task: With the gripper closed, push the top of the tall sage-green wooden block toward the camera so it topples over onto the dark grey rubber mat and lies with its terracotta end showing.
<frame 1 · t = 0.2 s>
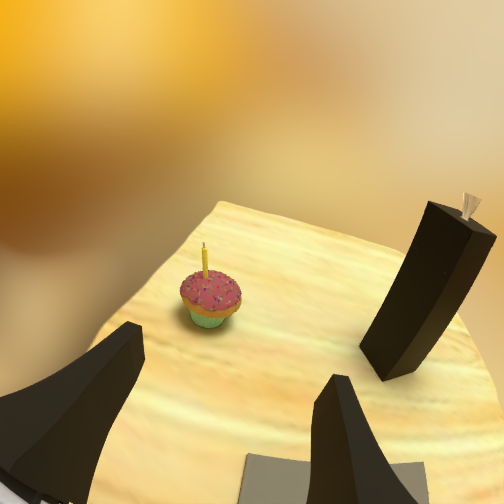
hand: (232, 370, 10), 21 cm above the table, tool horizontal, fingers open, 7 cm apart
black pillar candle: (386, 360, 42), on the table
cupcake: (207, 317, 43), on the table
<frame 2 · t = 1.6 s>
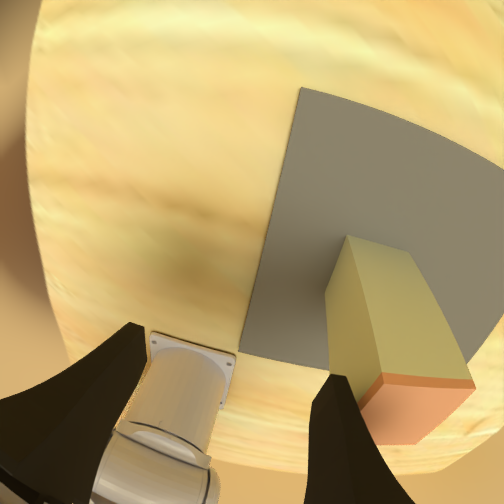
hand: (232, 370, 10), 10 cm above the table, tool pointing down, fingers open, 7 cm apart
rubber mat: (413, 280, 19), on the table
sage block: (366, 273, 19), point 1 cm above the table, touching rubber mat
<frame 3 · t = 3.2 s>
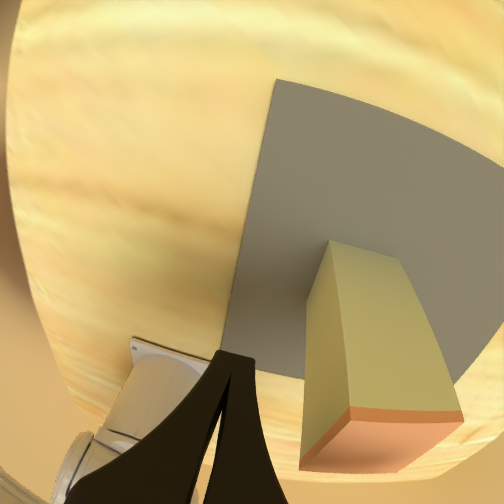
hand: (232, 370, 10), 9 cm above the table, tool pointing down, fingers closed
rubber mat: (404, 289, 18), on the table
sage block: (352, 281, 17), point 1 cm above the table, touching rubber mat
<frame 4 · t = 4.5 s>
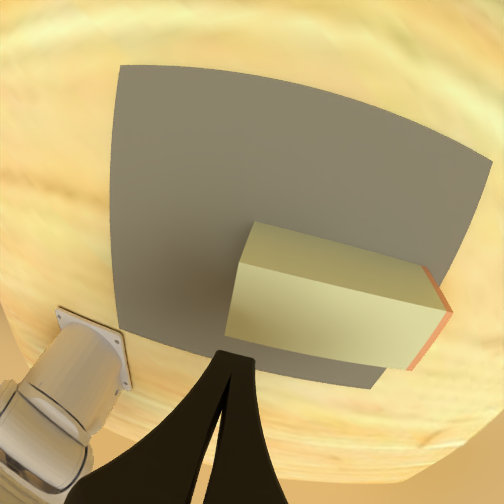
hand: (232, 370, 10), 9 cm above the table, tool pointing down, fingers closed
rubber mat: (276, 257, 18), on the table
sage block: (239, 276, 16), point 3 cm above the table, tilted 90°, touching rubber mat
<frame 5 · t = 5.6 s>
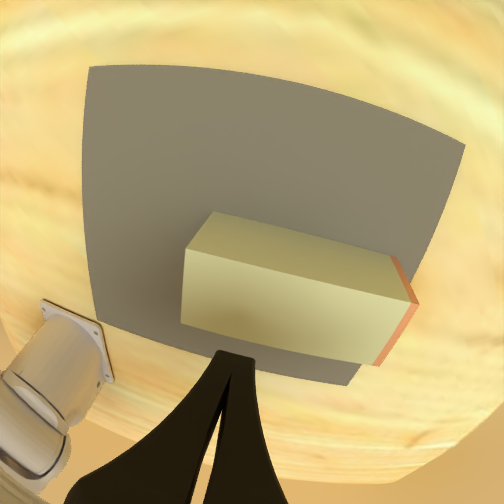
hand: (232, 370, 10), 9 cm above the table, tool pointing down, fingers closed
rubber mat: (238, 247, 18), on the table
sage block: (196, 265, 16), point 3 cm above the table, tilted 90°, touching rubber mat
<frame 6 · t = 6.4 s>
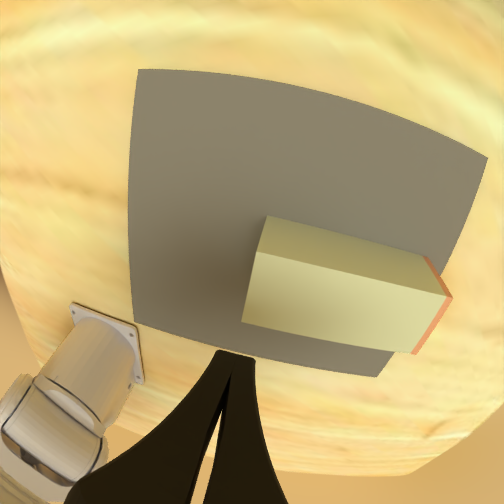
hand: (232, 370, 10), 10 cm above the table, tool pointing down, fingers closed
rubber mat: (287, 249, 19), on the table
sage block: (254, 266, 17), point 3 cm above the table, tilted 90°, touching rubber mat
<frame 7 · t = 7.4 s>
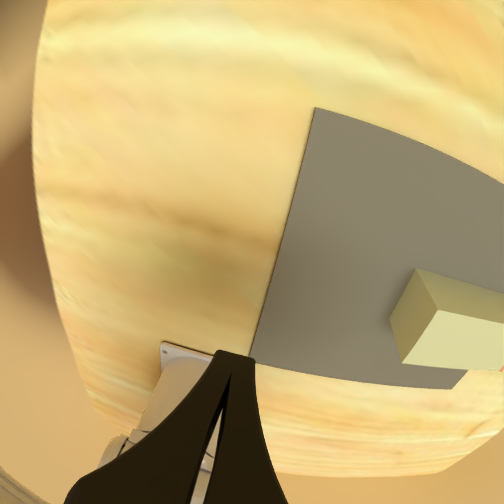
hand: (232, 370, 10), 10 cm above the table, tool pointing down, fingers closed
rubber mat: (418, 294, 19), on the table
sage block: (410, 314, 17), point 3 cm above the table, tilted 90°, touching rubber mat
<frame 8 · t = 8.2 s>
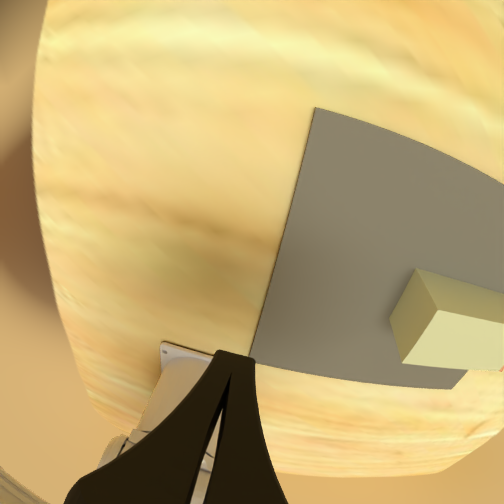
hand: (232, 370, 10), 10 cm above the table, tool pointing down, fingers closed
rubber mat: (418, 294, 19), on the table
sage block: (410, 314, 17), point 3 cm above the table, tilted 90°, touching rubber mat
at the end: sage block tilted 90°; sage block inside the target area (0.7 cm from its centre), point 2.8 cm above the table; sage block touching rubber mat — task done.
